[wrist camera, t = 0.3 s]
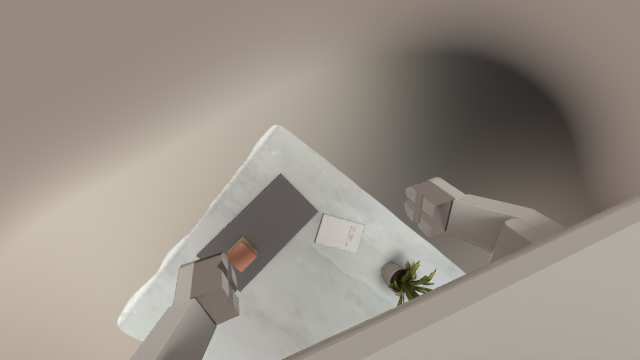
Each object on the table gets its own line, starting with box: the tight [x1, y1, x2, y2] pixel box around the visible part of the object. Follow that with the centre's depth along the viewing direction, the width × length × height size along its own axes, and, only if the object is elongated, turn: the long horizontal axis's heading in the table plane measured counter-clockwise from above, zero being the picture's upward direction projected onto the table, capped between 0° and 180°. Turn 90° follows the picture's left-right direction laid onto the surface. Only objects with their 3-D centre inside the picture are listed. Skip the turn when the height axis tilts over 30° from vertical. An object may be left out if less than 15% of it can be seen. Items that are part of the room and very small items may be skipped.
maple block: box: [226, 236, 258, 272], centre depth 58 cm, size 5×5×5 cm
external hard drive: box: [314, 213, 365, 253], centre depth 67 cm, size 2×8×12 cm
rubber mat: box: [197, 174, 318, 291], centre depth 62 cm, size 14×28×1 cm, turn 134°
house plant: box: [382, 261, 437, 306], centre depth 64 cm, size 14×14×16 cm
